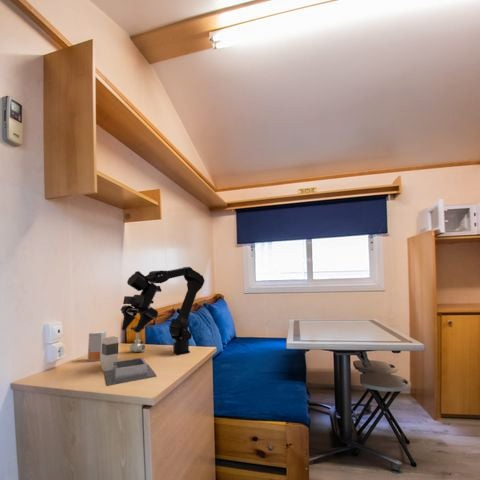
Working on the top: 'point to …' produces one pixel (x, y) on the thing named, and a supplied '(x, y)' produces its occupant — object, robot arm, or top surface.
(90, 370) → the top surface
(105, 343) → the plug
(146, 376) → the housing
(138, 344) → the valve
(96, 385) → the top surface
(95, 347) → the skincare box
